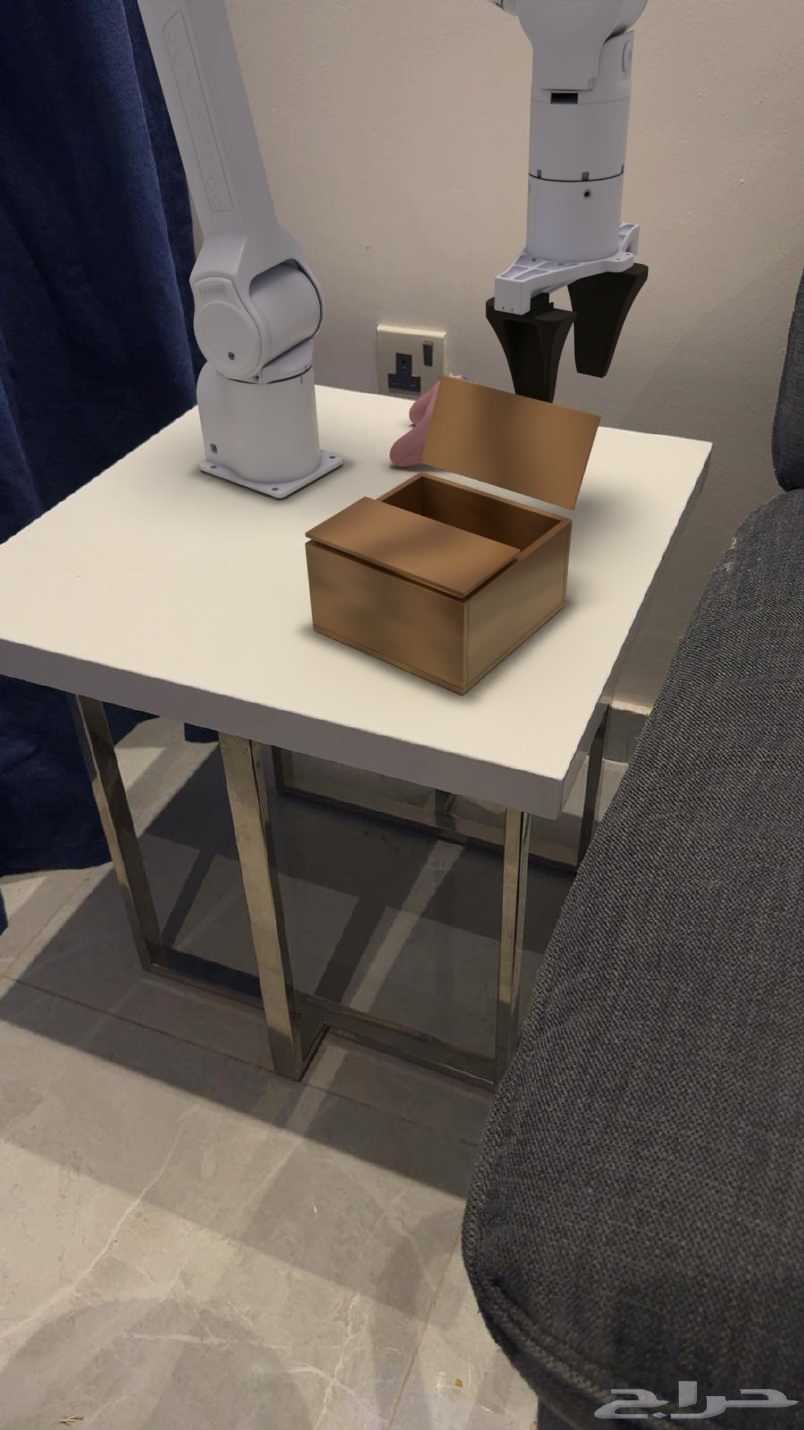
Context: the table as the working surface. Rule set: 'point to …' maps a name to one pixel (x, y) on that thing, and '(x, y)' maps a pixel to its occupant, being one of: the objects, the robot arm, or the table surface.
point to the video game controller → (417, 429)
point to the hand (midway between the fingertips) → (563, 392)
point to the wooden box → (437, 577)
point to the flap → (510, 441)
